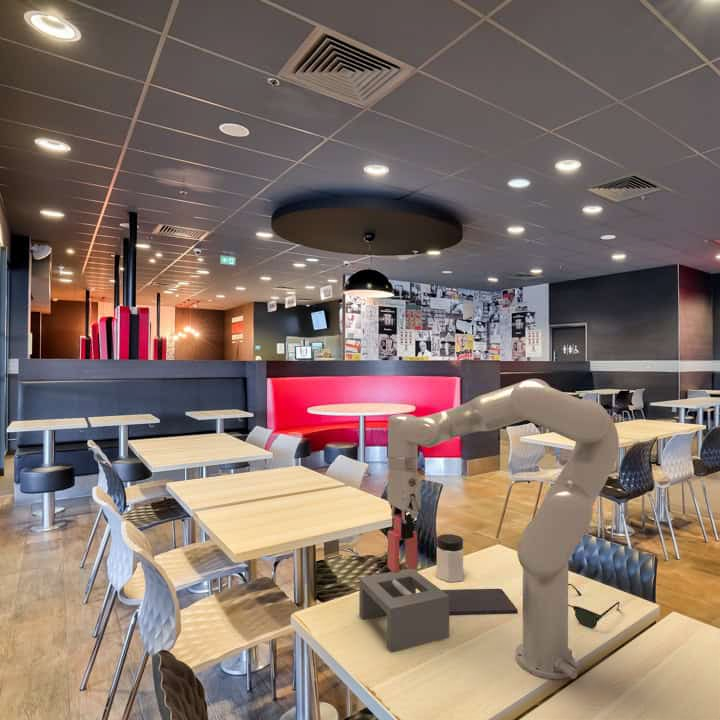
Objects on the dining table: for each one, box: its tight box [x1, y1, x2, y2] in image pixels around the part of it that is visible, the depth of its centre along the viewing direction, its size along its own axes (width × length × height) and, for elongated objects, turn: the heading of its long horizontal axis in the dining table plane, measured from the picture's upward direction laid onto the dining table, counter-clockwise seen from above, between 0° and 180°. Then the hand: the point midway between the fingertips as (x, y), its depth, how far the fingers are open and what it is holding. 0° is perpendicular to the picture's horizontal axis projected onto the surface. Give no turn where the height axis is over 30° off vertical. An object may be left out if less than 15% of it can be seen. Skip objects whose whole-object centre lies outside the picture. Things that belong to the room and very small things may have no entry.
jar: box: [436, 533, 464, 583], centre depth 154 cm, size 9×8×12 cm
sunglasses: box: [568, 583, 621, 630], centre depth 132 cm, size 16×17×5 cm
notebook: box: [441, 588, 519, 616], centre depth 136 cm, size 13×2×21 cm
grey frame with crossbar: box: [358, 567, 450, 653], centre depth 124 cm, size 18×16×10 cm
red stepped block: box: [387, 514, 418, 573], centre depth 124 cm, size 4×6×13 cm, turn 114°
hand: (402, 534), depth 124 cm, fingers closed on red stepped block, 4 cm apart
